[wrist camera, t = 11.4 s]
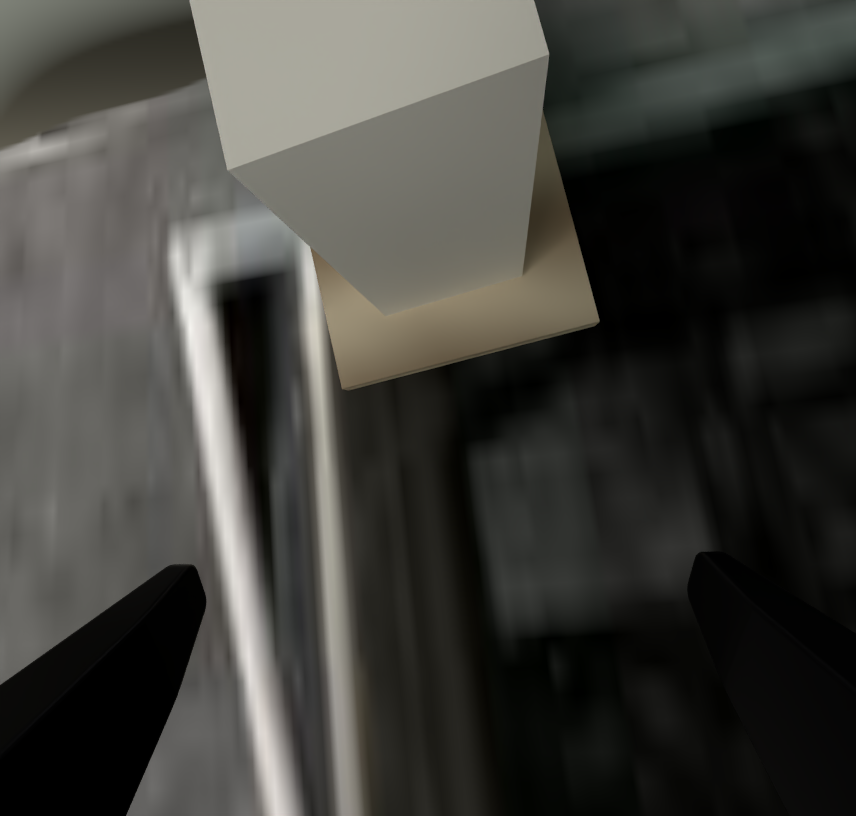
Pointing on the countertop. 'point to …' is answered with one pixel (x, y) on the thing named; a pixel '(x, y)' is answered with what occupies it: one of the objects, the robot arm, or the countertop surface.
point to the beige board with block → (469, 301)
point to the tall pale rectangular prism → (385, 132)
